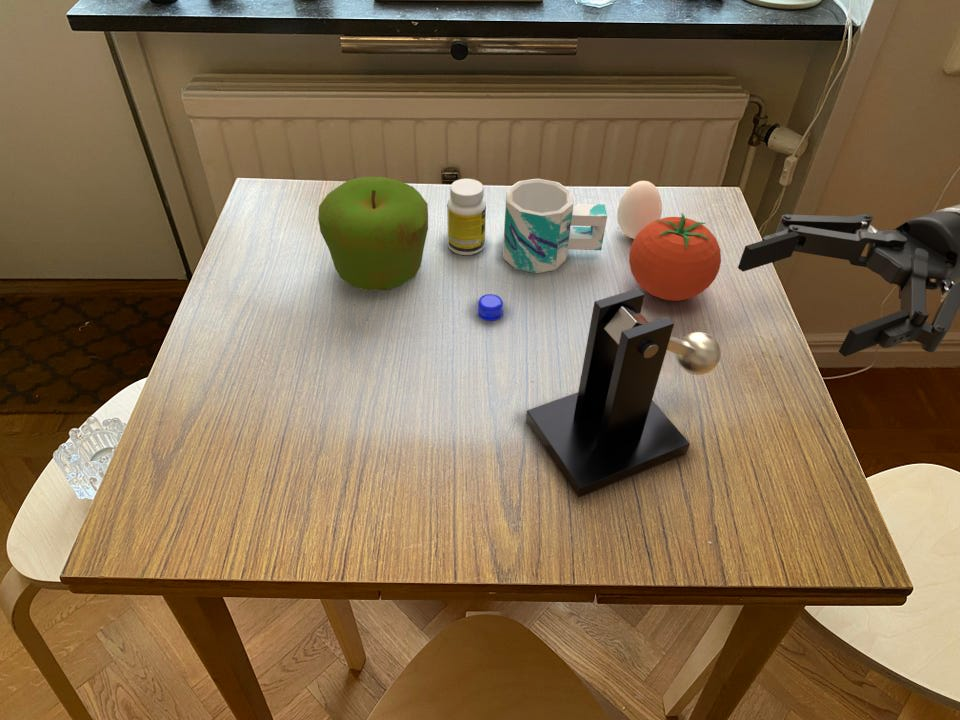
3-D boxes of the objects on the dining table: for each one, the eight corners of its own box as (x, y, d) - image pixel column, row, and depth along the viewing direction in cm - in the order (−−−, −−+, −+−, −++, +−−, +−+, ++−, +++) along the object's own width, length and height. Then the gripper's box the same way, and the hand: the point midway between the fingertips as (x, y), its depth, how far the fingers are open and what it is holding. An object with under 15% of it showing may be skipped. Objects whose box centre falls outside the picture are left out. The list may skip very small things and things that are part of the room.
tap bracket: (627, 383, 73) (657, 260, 62) (686, 453, 67) (732, 329, 56) (525, 420, 69) (538, 295, 58) (578, 498, 63) (604, 374, 52)
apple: (314, 257, 87) (300, 176, 79) (405, 233, 92) (401, 153, 84) (349, 318, 80) (337, 234, 72) (447, 288, 84) (446, 206, 76)
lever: (682, 359, 69) (709, 328, 68) (708, 386, 67) (737, 355, 65) (592, 329, 59) (621, 291, 58) (618, 359, 57) (650, 321, 55)
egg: (610, 223, 94) (620, 170, 89) (651, 224, 94) (663, 171, 89) (616, 248, 90) (626, 193, 85) (658, 249, 91) (672, 194, 85)
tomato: (623, 314, 81) (639, 242, 74) (621, 261, 89) (636, 191, 82) (714, 322, 81) (738, 250, 74) (704, 268, 88) (726, 198, 81)
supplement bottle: (488, 254, 89) (490, 195, 83) (451, 258, 88) (451, 199, 82) (480, 232, 92) (482, 174, 86) (444, 236, 91) (443, 178, 86)
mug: (502, 233, 92) (506, 176, 86) (594, 236, 92) (604, 179, 86) (503, 272, 86) (507, 213, 80) (601, 275, 86) (612, 216, 80)
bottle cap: (489, 300, 82) (489, 289, 81) (508, 312, 81) (509, 300, 80) (471, 312, 81) (471, 300, 80) (491, 324, 79) (491, 313, 78)
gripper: (1037, 346, 68) (880, 415, 61) (841, 215, 84) (699, 258, 77) (1085, 285, 63) (920, 353, 56) (867, 158, 79) (717, 198, 72)
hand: (791, 298), depth 67 cm, fingers open, 13 cm apart
